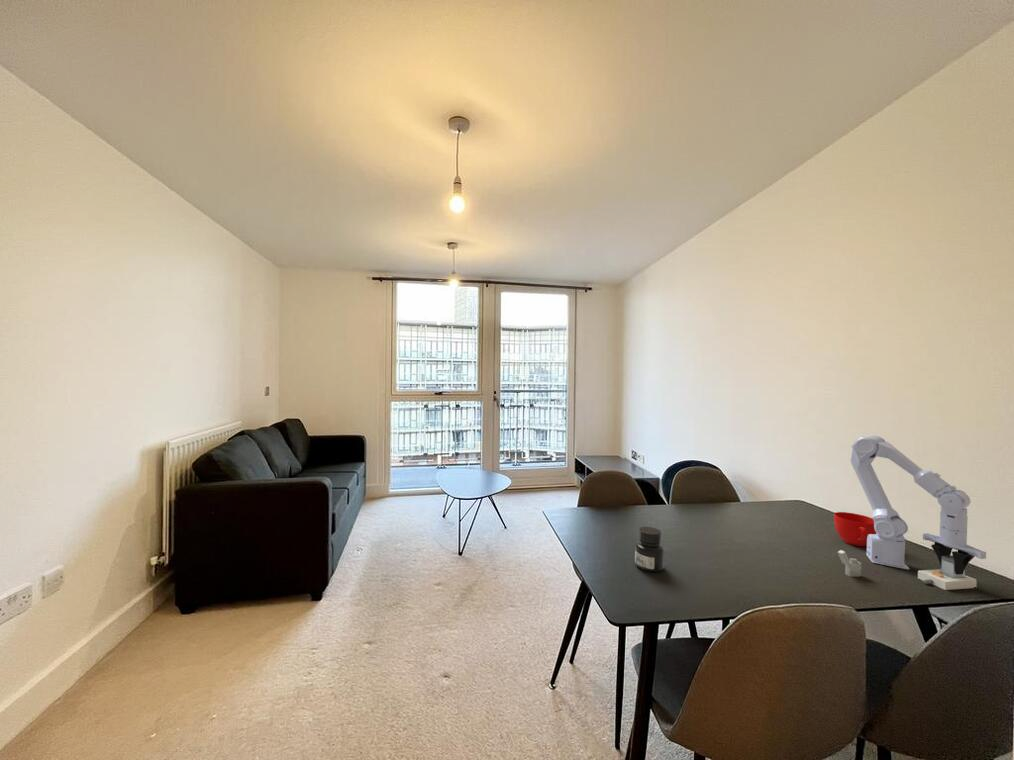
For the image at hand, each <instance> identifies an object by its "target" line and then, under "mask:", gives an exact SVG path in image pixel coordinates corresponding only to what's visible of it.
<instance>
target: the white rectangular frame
mask: <svg viewBox="0 0 1014 760" xmlns="http://www.w3.org/2000/svg"><path fill="white" fill-rule="evenodd" d="M917 579H918V580H920V581H922V583H924V584H925V585H929V584H930V585H933V586H935V587H938V588H940V589H941V590H944V591H949V590H961V589H962V590H963V589H975V588H974V587H976V588H977V578H974V577H970V576H968V575H965V578H954V579H953V578H950V577H948V576H945V575H943V574H941V568H939V569H937V568H936V569H923V570H918V571H917Z"/></svg>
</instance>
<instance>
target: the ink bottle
mask: <svg viewBox="0 0 1014 760" xmlns="http://www.w3.org/2000/svg"><path fill="white" fill-rule="evenodd" d="M638 534H639V535H638V540H639V541H637V542H636V543H635V549H634V563H635V566H636V567H637V568H639V569H640V570H642V571H645V572H648V573H657V572H658V573H659V572H661V571H663V570H664V568H665V567H664V564H665V563H664V561H665V557H664V556H665V549H664V547H663V546H662V545H661V542H662V541H661V540H662V539H661V538H662V532H661V530H660V529H658V528H656V527H653V526H642V527H641V526H640V527H639V531H638Z"/></svg>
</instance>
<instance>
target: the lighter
mask: <svg viewBox="0 0 1014 760" xmlns="http://www.w3.org/2000/svg"><path fill="white" fill-rule="evenodd" d="M837 554H838V557H839V559H840V561H841V564H843V565H844V566H845V570H844V571H845V572H844V574H845V575H846V576H848V577H850V578H853V577H861V576H862V562H860V561H858V559H857V558H854V557H853V558H852V557H851V558H850V557H848V555H847V552H846V551H844V550H843V549H840V550H838V551H837Z"/></svg>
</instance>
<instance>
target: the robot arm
mask: <svg viewBox="0 0 1014 760" xmlns="http://www.w3.org/2000/svg"><path fill="white" fill-rule="evenodd" d="M851 448H852V450H851V455H850V456H851V457H850V463H851V466H852V468H853V470H854V472H855V474H856V476H857V477H856V478H858V481H859V483H860V485H861V487H862V490H863V491H864V494H865V496H866V498H867V500H868V502H869V504H870V506H871V509H872V517H871V518H873V520H874V529H875V531H876V534H868V536H867V545H866V554H865V555H866V557H867V558H868V559H869V560H870V562H871V563H874V564H878V565H882V566H883V565H884V566H888V567H893V568H898V569H903V570H907V571H908V570H910V567H909V566H908V565H907V564H906V563H905V552H906V550H905V548H906V537H905V536H904V535H905V534H906V533H908V531H909V526H908V524H907V523H906V521H905V520H904V519H903V518H902V517H901V516H900V515H899V512H898V511H897V510H895V509H894V508H893V507H892V505H891V503H890V500H889V499H888V496H887V495H886V492H885V489H883V486H882V484H881V482H880V480H879V478H878V475H877V474H876V472H875V470H874V467H873V465H872V463H873V462H874V460H875V459H876V458H877V457H878V458H883V459H888V460H890V461H891V462H893V463H894V464H895V465H897V466H898V467H899V468H901V469H903V470H904V471H905V472H907V473H909V474H910V475H911V476H912V477H913V481H914V483H915V484H917V485H918V486H919V487H921V488H922V489H923V490H925V492H927V493H928V494H929V495H931V496H933V497H934V498H936V499H937V502H938V504H939V505H940V512H939V513H940V514H939V536H938V535H934V534H930V533H925V532H924V533H922V540H923V541H924V540H925V541H930V542H933V543H934V544H931V546H930V547H931V549H933V551H934V553H935V555H936V557H937V559H938V561H939V566H941V565H942V556H951V554H952V555H953V558H954V563H955V565H954V568H955V574H958V575H960V574H963V572H964V570H965V571H966V567H968V564H969V563H970V562H971V560H973V559H974V558H975V557H976V558H978V559H980V560H985V559H987V552H986V551H983V550H980V549H978V548H976V547H973V546H972V545H969V544H967V541H968V508H967V507H969V506H970V504H971V499H970V496H969V495H968V494H967V493H966V492H965V491H963V490H960V489H957V487H956V486H955V485H951V484H950V483H948V482H947V481H946V480H945V479H943V478H942V477H941V474H940V473H938V472H934V471H932V470H924V469H923V468H921V467H920V466H918V465H917V464H916V463H915V462H914V461H912V460H911V459H910V458H909V457H907V456H906V455H905V454H904V453H902V452H901V451H900V450H899V449H897V448H896V447H895V446H894V445H893V444H892V443H890V442H889V441H886V440H885V439H884V438H882V437H881V436H877V435H871V436H862V437H858V438H857V439H856V440H855V441H854V442H853V444H852V445H851ZM953 550H956V551H953Z"/></svg>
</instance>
